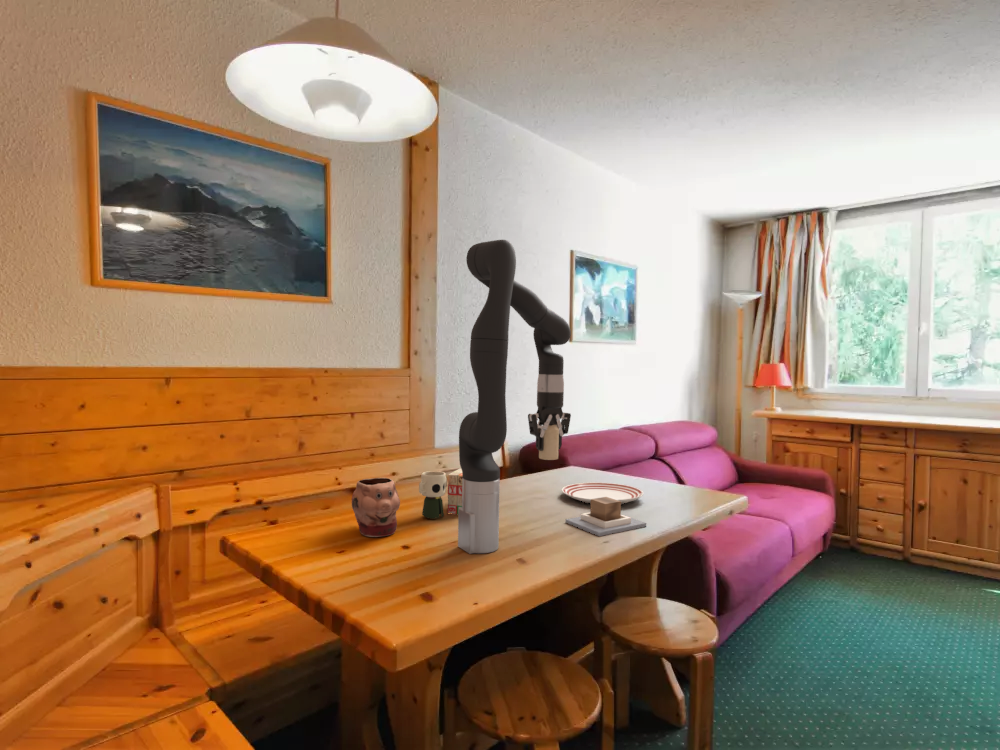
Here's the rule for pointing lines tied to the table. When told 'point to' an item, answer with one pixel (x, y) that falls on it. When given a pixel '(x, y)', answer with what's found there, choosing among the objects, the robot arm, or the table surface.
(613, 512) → the walnut block
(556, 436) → the candle
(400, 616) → the table surface
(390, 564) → the table surface
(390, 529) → the decorative planter
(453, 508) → the stack of blocks
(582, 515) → the baseplate
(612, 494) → the dinner plate
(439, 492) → the character mug
